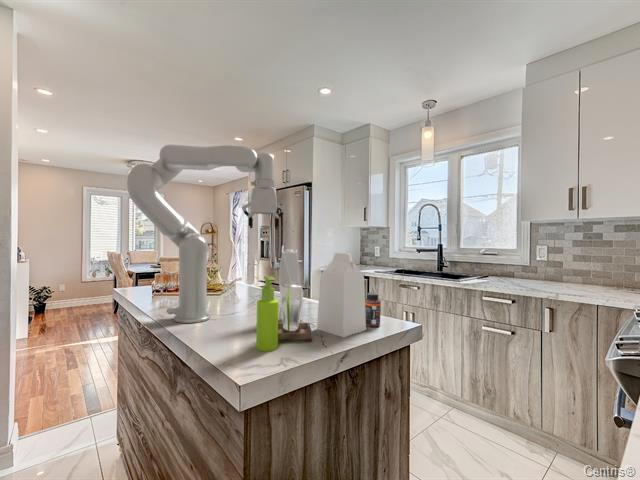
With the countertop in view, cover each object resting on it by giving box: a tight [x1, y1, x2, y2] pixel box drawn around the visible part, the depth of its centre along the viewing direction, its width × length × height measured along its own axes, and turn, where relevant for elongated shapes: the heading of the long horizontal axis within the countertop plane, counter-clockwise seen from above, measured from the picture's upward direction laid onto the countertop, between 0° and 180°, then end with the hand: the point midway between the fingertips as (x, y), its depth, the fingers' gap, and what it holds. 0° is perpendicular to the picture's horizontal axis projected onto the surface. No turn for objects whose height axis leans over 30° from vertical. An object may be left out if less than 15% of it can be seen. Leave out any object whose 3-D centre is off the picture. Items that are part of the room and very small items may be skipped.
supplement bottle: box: [365, 292, 382, 328], centre depth 114 cm, size 6×6×11 cm
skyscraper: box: [278, 245, 302, 323], centre depth 118 cm, size 8×8×28 cm
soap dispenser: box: [255, 275, 280, 352], centre depth 88 cm, size 6×7×20 cm
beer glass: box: [279, 283, 303, 333], centre depth 100 cm, size 7×7×15 cm
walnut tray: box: [278, 322, 313, 343], centre depth 100 cm, size 12×12×2 cm
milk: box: [316, 252, 367, 338], centre depth 108 cm, size 12×12×26 cm
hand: (263, 228), depth 126 cm, fingers open, 9 cm apart
